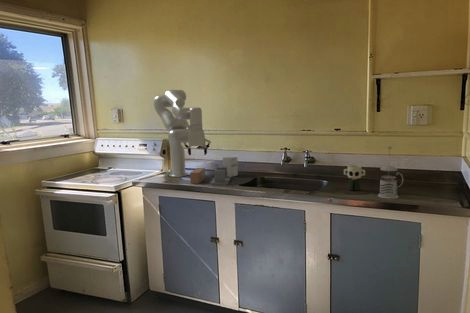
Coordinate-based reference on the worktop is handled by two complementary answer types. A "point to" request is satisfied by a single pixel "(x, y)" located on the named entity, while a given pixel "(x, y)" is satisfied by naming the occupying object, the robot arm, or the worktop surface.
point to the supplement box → (231, 165)
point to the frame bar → (197, 175)
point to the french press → (386, 180)
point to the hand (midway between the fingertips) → (197, 154)
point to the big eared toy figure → (354, 176)
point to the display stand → (221, 176)
